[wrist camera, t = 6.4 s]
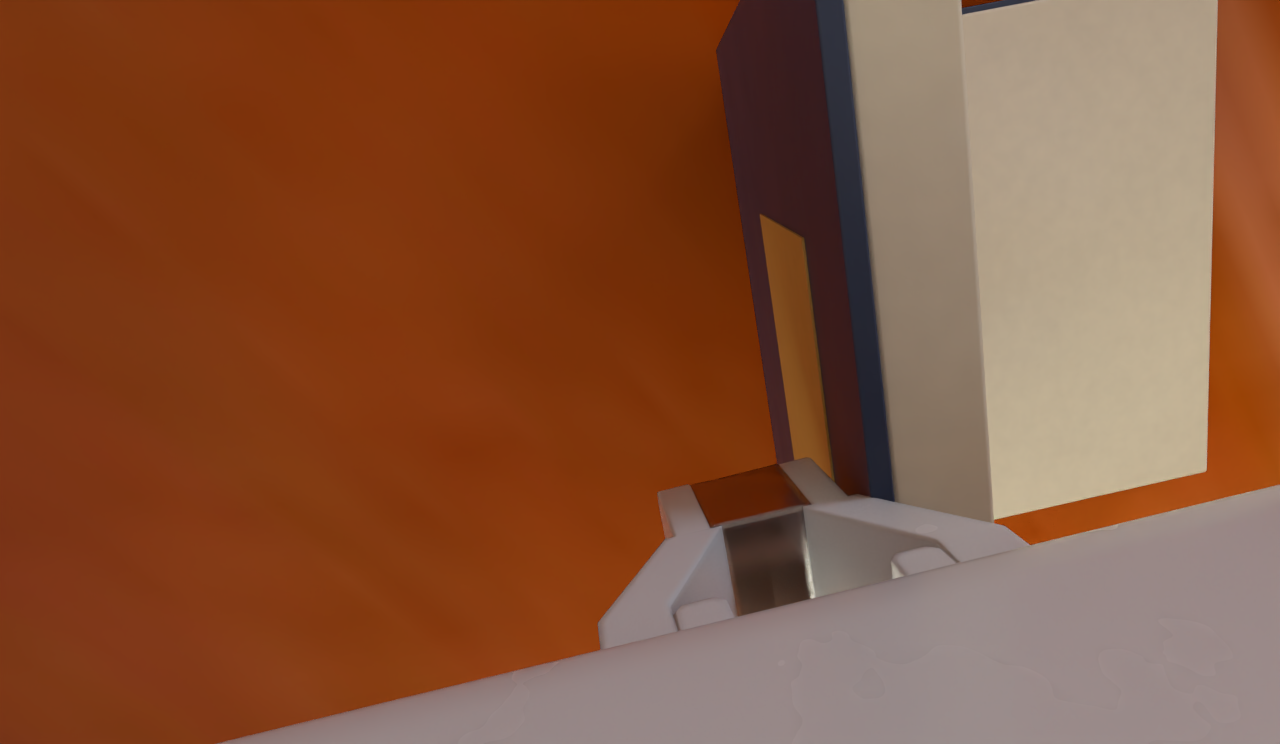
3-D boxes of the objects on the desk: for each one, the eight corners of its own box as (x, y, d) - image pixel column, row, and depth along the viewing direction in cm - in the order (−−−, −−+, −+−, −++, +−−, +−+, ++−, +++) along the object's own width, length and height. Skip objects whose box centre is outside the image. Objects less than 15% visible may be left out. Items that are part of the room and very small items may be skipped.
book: (1177, -32, 22) (1223, -47, 20) (1172, 462, 26) (1210, 479, 25) (757, 47, 21) (773, 37, 20) (823, 540, 25) (840, 564, 24)
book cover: (959, -164, 7) (796, -127, 7) (1028, 990, 12) (924, 1000, 12) (774, 36, 19) (714, 49, 20) (841, 565, 24) (792, 572, 24)
